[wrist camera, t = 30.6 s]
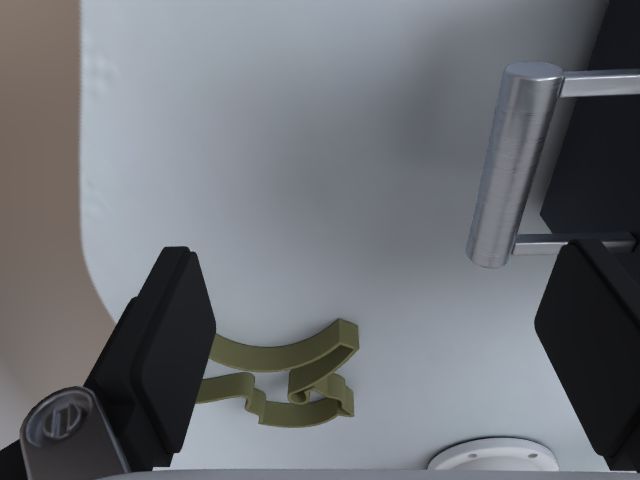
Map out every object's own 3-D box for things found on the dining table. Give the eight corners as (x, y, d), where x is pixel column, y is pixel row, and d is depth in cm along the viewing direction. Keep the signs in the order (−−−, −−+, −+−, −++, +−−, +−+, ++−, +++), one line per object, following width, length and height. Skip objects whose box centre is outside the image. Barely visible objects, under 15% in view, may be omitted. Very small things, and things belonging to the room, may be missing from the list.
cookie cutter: (384, 326, 30) (387, 348, 29) (344, 413, 38) (344, 435, 36) (125, 284, 28) (113, 306, 27) (135, 385, 36) (126, 407, 34)
